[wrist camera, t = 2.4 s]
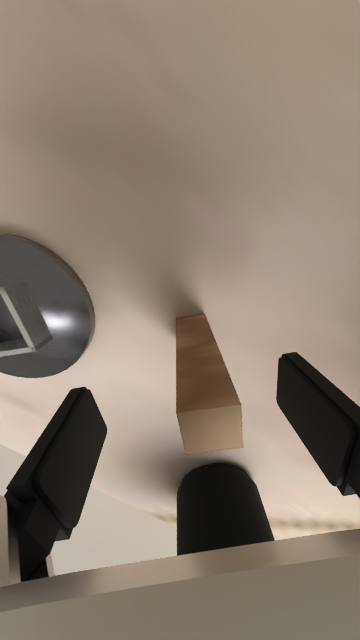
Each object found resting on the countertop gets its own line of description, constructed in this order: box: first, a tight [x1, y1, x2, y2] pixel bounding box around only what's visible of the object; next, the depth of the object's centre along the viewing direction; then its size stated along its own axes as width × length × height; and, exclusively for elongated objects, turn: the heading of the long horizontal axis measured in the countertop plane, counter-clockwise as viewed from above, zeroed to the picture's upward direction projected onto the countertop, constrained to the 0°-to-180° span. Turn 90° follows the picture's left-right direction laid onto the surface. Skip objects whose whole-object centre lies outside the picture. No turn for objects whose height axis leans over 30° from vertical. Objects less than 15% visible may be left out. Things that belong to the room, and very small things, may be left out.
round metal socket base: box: [0, 234, 95, 378], centre depth 15 cm, size 12×12×3 cm
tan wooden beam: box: [176, 314, 243, 455], centre depth 12 cm, size 2×2×10 cm
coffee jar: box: [177, 464, 275, 556], centre depth 18 cm, size 11×11×18 cm
